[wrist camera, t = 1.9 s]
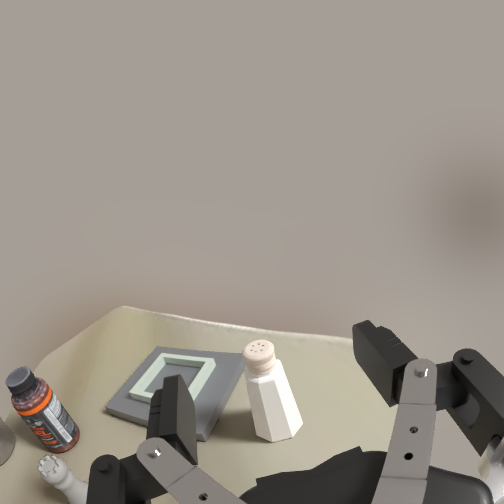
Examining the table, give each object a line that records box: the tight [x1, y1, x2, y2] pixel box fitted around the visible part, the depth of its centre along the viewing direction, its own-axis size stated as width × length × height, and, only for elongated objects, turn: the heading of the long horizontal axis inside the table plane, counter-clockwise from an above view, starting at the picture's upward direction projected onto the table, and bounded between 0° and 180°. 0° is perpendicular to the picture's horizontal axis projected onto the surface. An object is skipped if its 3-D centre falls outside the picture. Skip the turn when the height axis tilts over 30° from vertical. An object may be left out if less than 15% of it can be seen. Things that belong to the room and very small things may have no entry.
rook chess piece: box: [38, 455, 88, 504], centre depth 19 cm, size 4×4×8 cm
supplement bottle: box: [6, 367, 80, 453], centre depth 28 cm, size 6×6×11 cm
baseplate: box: [105, 346, 246, 442], centre depth 37 cm, size 15×14×3 cm
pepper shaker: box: [242, 340, 303, 442], centre depth 28 cm, size 5×5×11 cm
